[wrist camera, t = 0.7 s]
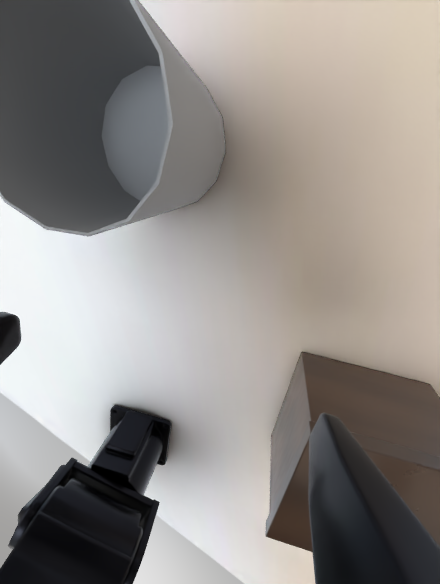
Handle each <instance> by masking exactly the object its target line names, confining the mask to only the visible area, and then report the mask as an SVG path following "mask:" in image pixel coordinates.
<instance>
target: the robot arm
mask: <svg viewBox="0 0 440 584" xmlns="http://www.w3.org/2000/svg"><path fill="white" fill-rule="evenodd" d="M20 342H21V331H20V320H19V318H18V317H17V316H16V315H13V314H10V313H7V312H0V364H1V363H2V362H3V361H4V360H5V359H6V358H7V357H8V356H9V355H10V354H11V353H12V352H13V351H14V350H15V349H16V348H17V347H18V346H19V344H20ZM171 426H172V424H171V422H170V421H168V420H165V419H162V418H158V417H155V416H152V415H148V414H145V413H141V412H138V411H135V410H131V409H128V408H125V407H121V406H118V405H114V406H113V407H112V408H111V419H110V433H109V435H108V436H107V438H106V439H105V441H104V442H103V444H102V445H101V447H100V448H99V450H98V451H97V453H96V454H95V456H94V458H93V459H92V461H91V462H90V464H89V465H88V467H87V466H85V465H83V464H81V463H79V462H77V460H76V459H74V458H71V459H70V460H69V462H68V463H67V464H66V465H61V466H60V467H59V469H58V470H57V472H56V473H55V474H54V475H53V477H52V478H51V479H50V481H49V482H48V483H47V484H46V485H45V487H43V488H42V489H41V490H40V491H39V492H38V494H36V495H35V496H34V497H33V498H32V499H31V500H30V501H29V502H28V503H27V504H26V505H25V506H24V507H23V508H22V510H21V511H20V513H19V514H18V526H17V528H16V529H15V532H14V534H13V536H12V538H11V540H10V543H9V545H8V546H9V547H10V548H12V549H13V550H12V552H11V553H10V555H9V556H8V558H7V559H6V561H5V562H4V564H3V565H2V567H1V568H0V584H133V581H134V579H135V577H136V574H137V572H138V569H139V567H140V564H141V561H142V558H143V555H144V553H145V549H146V546H147V543H148V539H149V536H150V532H151V529H152V526H153V522H154V519H155V516H156V513H157V509H158V506H159V502H158V501H156V500H152V499H150V498H148V497H146V496H144V493H145V491H146V488H147V486H148V483H149V481H150V479H151V476H152V474H153V472H154V469H155V467H156V464H160V465H164V464H165V463H166V460H167V454H168V447H169V440H170V433H171ZM308 495H309V516H310V527H311V539H312V550H313V561H314V572H315V583H316V584H440V546H439V545H438V544H437V543H436V541H435V540H434V539H433V537H432V536H431V535H430V534H429V532H428V531H427V530H426V528H425V527H424V526H423V525H422V523H421V522H420V521H419V519H418V518H417V517H416V516H415V514H414V513H413V512H412V510H411V509H410V508H409V507H408V505H407V504H406V503H405V501H404V500H403V499H402V498H401V496H400V495H399V494H398V493H397V491H396V490H395V489H394V487H393V486H392V485H391V484H390V482H389V481H388V480H387V478H386V477H385V476H384V475H383V473H382V472H381V471H380V469H379V468H378V467H377V466H376V464H375V463H374V462H373V460H372V459H371V458H370V457H369V455H368V454H367V453H366V451H365V450H364V449H363V448H362V446H361V445H360V444H359V443H358V441H357V440H356V439H355V437H354V436H353V435H352V434H351V432H350V431H349V430H348V428H347V427H346V426H345V425H344V423H343V422H342V421H341V419H340V418H339V417H337V416H335V415H331V414H328V413H322V414H321V415H320V416H319V418H318V420H317V422H316V424H315V426H314V428H313V430H312V432H311V434H310V438H309V490H308Z"/></svg>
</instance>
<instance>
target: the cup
mask: <svg viewBox="0 0 440 584" xmlns="http://www.w3.org/2000/svg"><path fill="white" fill-rule="evenodd" d="M225 152H226V148H225V137H224V125H223V117H222V115H221V114H220V112H219V110H218V108H217V106H216V104H215V102H214V100H213V99H212V97H211V95H210V93H209V91H208V89H207V88H206V86H205V85H204V84H203V82H202V81H201V80H200V79H199V77H198V76H197V75H196V73H195V72H194V71H193V70H192V68H191V67H190V66H189V64H188V63H187V62H186V61H185V59H184V58H183V57H182V55H181V54H180V53H179V52H178V50H177V49H176V48H175V47H174V45H173V44H172V43H171V41H170V40H169V39H168V38H167V36H166V35H165V34H164V32H163V31H162V30H161V29H160V27H159V26H158V25H157V23H156V22H155V21H154V20H153V18H152V17H151V16H150V14H149V13H148V12H147V11H146V9H145V8H144V7H143V6H142V4H141V3H140V2H139V0H0V197H1V198H2V199H3V200H4V202H5V203H7V204H8V205H10V206H11V207H13V208H14V209H16V210H17V211H19V212H20V213H22V214H23V215H25V216H27V217H28V218H30V219H31V220H33V221H34V222H36V223H37V224H39V225H40V226H42V227H43V228H45V229H47V230H53V231H59V232H65V233H71V234H77V235H83V236H92V235H95V234H98V233H101V232H105V231H108V230H111V229H114V228H117V227H121V226H124V225H127V224H130V223H133V222H137V221H140V220H143V219H146V218H149V217H153V216H156V215H159V214H162V213H165V212H169V211H172V210H175V209H178V208H180V207H183V206H186V205H189V204H191V203H194V202H197V201H199V199H200V198H201V197H202V196H203V195H204V194H205V193H206V192H207V191H208V190H209V188H210V187H211V186H212V185H213V184H214V183H215V182H216V181H217V178H218V174H219V171H220V168H221V165H222V162H223V159H224V156H225Z"/></svg>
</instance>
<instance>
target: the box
mask: <svg viewBox="0 0 440 584" xmlns="http://www.w3.org/2000/svg"><path fill="white" fill-rule="evenodd" d="M322 413H328V414H331V415H335V416H337V417H339V418H340V419H341V421H342V422H343V423H344V425H345V426H346V427H347V428H348V430H349V431H350V432H351V434H352V435H353V436H354V437H355V439H356V440H357V441H358V443H359V444H360V445H361V446H362V448H363V449H364V450H365V451H366V453H367V454H368V455H369V457H370V458H371V459H372V460H373V462H374V463H375V464H376V466H377V467H378V468H379V469H380V471H381V472H382V473H383V475H384V476H385V477H386V478H387V480H388V481H389V482H390V484H391V485H392V486H393V487H394V489H395V490H396V491H397V493H398V494H399V495H400V496H401V498H402V499H403V500H404V501H405V503H406V504H407V505H408V507H409V508H410V509H411V510H412V512H413V513H414V514H415V516H416V517H417V518H418V519H419V521H420V522H421V523H422V525H423V526H424V527H425V528H426V530H427V531H428V532H429V534H430V535H431V536H432V537H433V539H434V540H435V541H436V543H437V544H438V545H439V546H440V397H439V396H438V394H437V393H436V392H435V390H434V389H433V388H432V386H431V385H430V384H426V383H422V382H418V381H415V380H411V379H407V378H403V377H399V376H395V375H391V374H387V373H383V372H379V371H375V370H371V369H367V368H364V367H360V366H356V365H352V364H348V363H344V362H340V361H336V360H332V359H328V358H324V357H320V356H316V355H313V354H309V353H305V352H301V355H300V358H299V360H298V363H297V366H296V369H295V371H294V374H293V377H292V380H291V382H290V385H289V388H288V391H287V394H286V396H285V399H284V402H283V405H282V407H281V410H280V413H279V416H278V419H277V421H276V424H275V427H274V430H273V432H272V435H271V471H270V513H269V516H268V518H267V520H266V537H269V538H272V539H275V540H278V541H281V542H284V543H287V544H290V545H293V546H296V547H299V548H302V549H305V550H308V551H311V552H313V550H312V539H311V527H310V516H309V495H308V490H309V438H310V434H311V432H312V430H313V428H314V426H315V424H316V422H317V420H318V418H319V416H320V415H321V414H322Z"/></svg>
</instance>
